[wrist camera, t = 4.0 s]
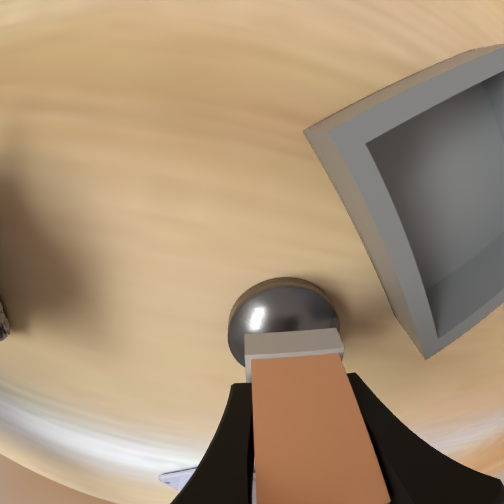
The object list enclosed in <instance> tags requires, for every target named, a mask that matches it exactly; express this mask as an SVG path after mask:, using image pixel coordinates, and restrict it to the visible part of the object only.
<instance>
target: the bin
mask: <svg viewBox="0 0 504 504" xmlns="http://www.w3.org/2000/svg"><path fill="white" fill-rule="evenodd" d="M303 133H304V134H305V136H306V138H307V139H308V141H309V143H310V144H311V146H312V148H313V149H314V151H315V153H316V155H317V156H318V158H319V160H320V162H321V163H322V165H323V167H324V169H325V170H326V172H327V174H328V176H329V178H330V179H331V181H332V183H333V185H334V187H335V189H336V191H337V192H338V194H339V196H340V198H341V200H342V202H343V204H344V206H345V208H346V210H347V212H348V214H349V216H350V218H351V220H352V222H353V224H354V226H355V228H356V230H357V232H358V234H359V236H360V238H361V240H362V242H363V244H364V246H365V248H366V250H367V253H368V255H369V257H370V259H371V261H372V264H373V266H374V268H375V270H376V272H377V275H378V277H379V279H380V282H381V284H382V286H383V288H384V291H385V293H386V296H387V298H388V300H389V303H390V305H391V308H392V310H393V313H394V315H395V317H396V318H397V319H398V321H399V322H400V324H401V325H402V326H403V328H404V329H405V331H406V332H407V334H408V335H409V336H410V338H411V339H412V341H413V342H414V344H415V345H416V347H417V348H418V350H419V351H420V353H421V354H422V356H423V357H424V359H425V360H426V359H428V358H430V357H431V356H433V355H434V354H436V353H437V352H439V351H440V350H442V349H443V348H444V347H446V346H447V345H449V344H450V343H452V342H453V341H454V340H456V339H457V338H459V337H460V336H461V335H463V334H464V333H465V332H467V331H468V330H469V329H471V328H472V327H473V326H475V325H476V324H477V323H479V322H480V321H481V320H482V319H484V318H485V317H486V316H487V315H489V314H490V313H491V312H492V311H493V310H495V309H496V308H497V307H498V306H499V305H501V304H502V303H503V302H504V44H499V45H493V46H488V47H483V48H478V49H473V50H469V51H466V52H464V53H461V54H459V55H456V56H454V57H452V58H449V59H447V60H444V61H442V62H440V63H437V64H435V65H433V66H430V67H428V68H426V69H424V70H421V71H419V72H417V73H415V74H413V75H410V76H408V77H406V78H404V79H402V80H400V81H397V82H395V83H393V84H391V85H389V86H387V87H385V88H383V89H381V90H379V91H377V92H375V93H373V94H371V95H369V96H367V97H365V98H363V99H361V100H359V101H357V102H355V103H353V104H351V105H349V106H347V107H346V108H344V109H342V110H340V111H338V112H336V113H334V114H332V115H331V116H329V117H327V118H325V119H323V120H321V121H320V122H318V123H316V124H314V125H312V126H311V127H309V128H307V129H305V130H304V131H303Z"/></svg>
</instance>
